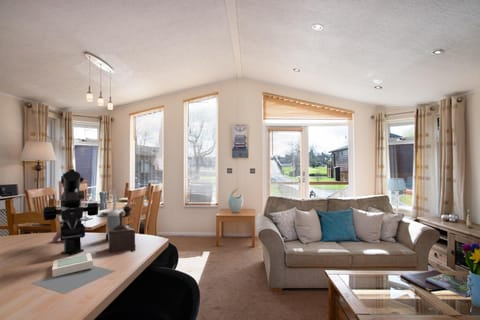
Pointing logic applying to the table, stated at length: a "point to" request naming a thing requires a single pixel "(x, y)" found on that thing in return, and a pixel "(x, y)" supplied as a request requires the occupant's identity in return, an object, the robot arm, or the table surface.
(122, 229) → the coffee grinder
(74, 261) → the picture frame
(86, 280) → the mat
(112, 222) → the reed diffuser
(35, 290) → the table surface
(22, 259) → the table surface
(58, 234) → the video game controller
